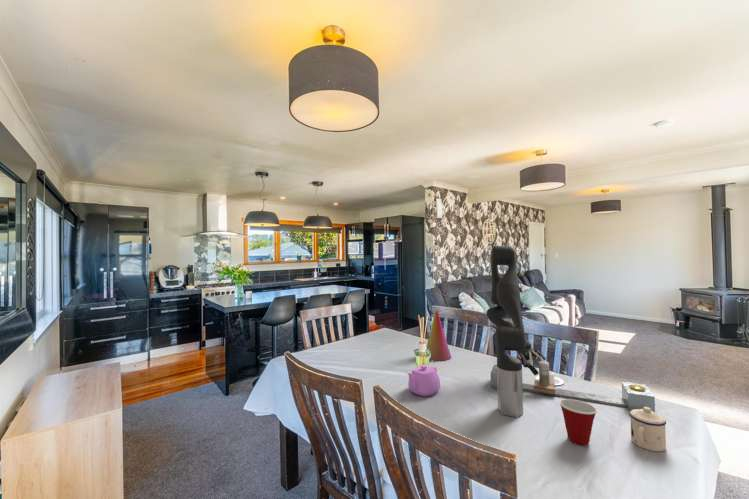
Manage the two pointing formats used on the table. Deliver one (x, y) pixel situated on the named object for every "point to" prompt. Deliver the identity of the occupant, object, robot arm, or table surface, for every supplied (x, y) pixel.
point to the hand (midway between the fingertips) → (542, 372)
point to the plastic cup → (578, 420)
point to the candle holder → (553, 378)
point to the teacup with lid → (648, 429)
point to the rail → (631, 395)
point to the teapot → (424, 380)
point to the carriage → (544, 379)
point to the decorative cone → (438, 341)
